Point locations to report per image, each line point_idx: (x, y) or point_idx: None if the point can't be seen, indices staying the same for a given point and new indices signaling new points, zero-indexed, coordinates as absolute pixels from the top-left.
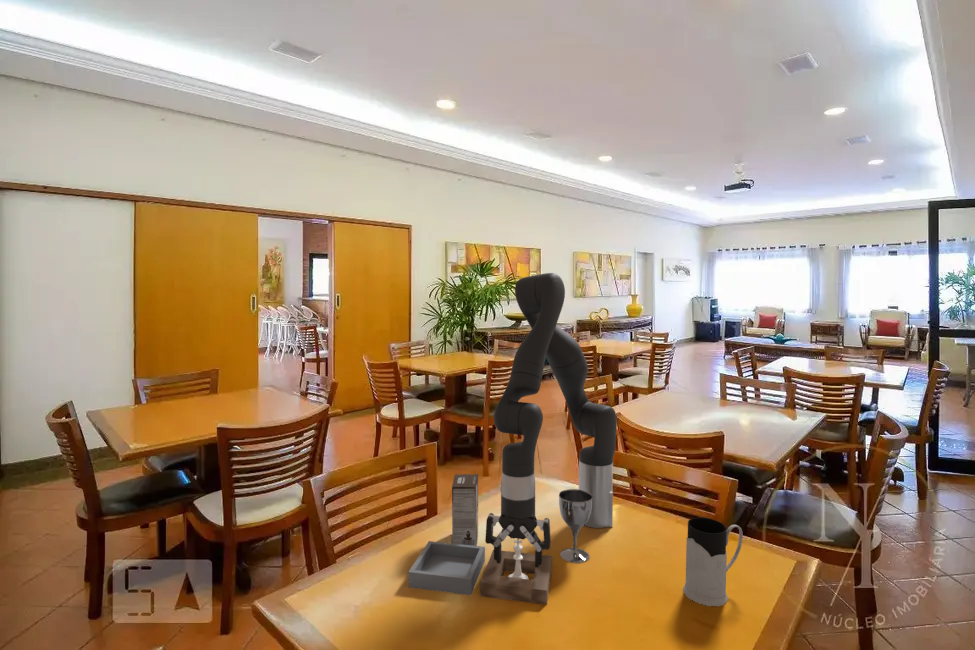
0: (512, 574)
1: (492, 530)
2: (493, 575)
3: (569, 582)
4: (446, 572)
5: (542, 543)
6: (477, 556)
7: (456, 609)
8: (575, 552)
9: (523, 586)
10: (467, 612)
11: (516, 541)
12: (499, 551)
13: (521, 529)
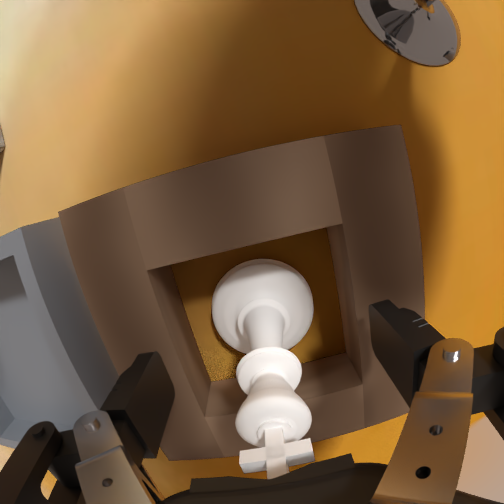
0: (229, 307)
1: (38, 480)
2: (184, 419)
3: (454, 217)
4: (25, 367)
5: (481, 405)
6: (44, 329)
7: (158, 472)
8: (426, 14)
9: (333, 431)
10: (189, 475)
11: (264, 467)
12: (159, 441)
13: None
